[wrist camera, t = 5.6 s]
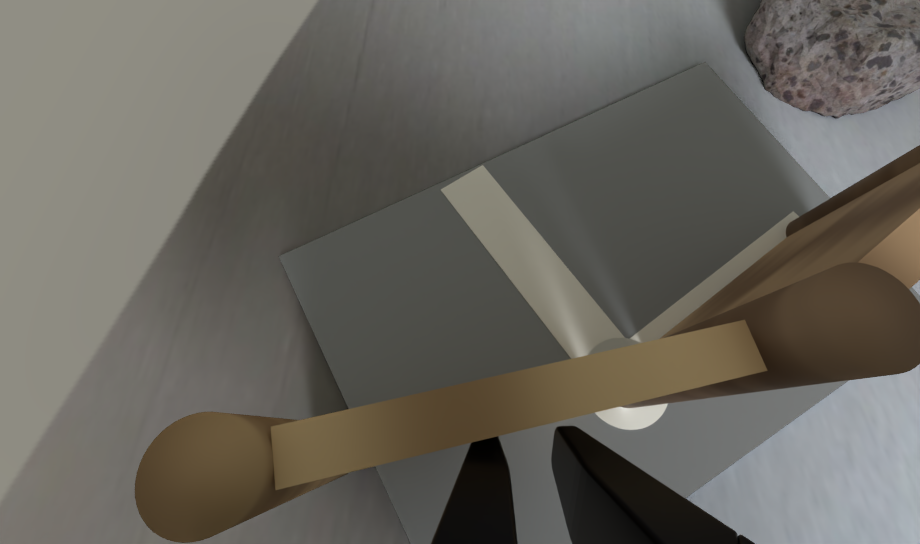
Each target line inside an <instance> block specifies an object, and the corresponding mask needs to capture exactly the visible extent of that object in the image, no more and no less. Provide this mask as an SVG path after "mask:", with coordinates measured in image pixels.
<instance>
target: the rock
mask: <svg viewBox="0 0 920 544" xmlns="http://www.w3.org/2000/svg"><path fill="white" fill-rule="evenodd" d="M744 40H745V43H746V50H747V53H748V55H749V57H750V58H751V60H752V62H753V63H754V65H755V67H756V68H757V70H758V72H759V74H760V76H761V77H762V79H763V81H764V87H765V90H767V91H768V92H770V93H772V95H773V96H774V97H776V98H778V99H779V100H781V101H783V102H785V103H787V104H790V105H792V106H793V107H796V108H800V109H801V110H802V111H813V112H817V113H820V114H821V115H823V116H834V117H835V118H839V117H841V116H843V115H847V114H851V115H853V114H856V113H864V112H867V111H869V110H874V109H877V108H879V107H881V106H883V105H885V104H888V103H889V102H890V101H893V100H897V99H900V98H902V97H903V96H905V95H907V94H909V93H912V92H914V91H915V90H917V89H919V88H920V0H761V4H760V7H759V9H758V10H757V11H756V13H755V14H754V16H753V18H752V20H751V22H750V23H749V25H748V26H747V28H746V32H745V36H744Z"/></svg>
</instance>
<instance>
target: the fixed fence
mask: <svg viewBox="0 0 920 544" xmlns="http://www.w3.org/2000/svg"><path fill="white" fill-rule="evenodd" d="M786 237H787V238H785V239H784V240H783V241H782V242H780V243H779V244H778V245H777V246H775V247H774V248H773V249H772V250H770V251H769V252H768V253H766V254H765V255H764V256H763V257H761V258H760V259H759V260H758V261H756V262H755V263H754V264H753V265H751V266H750V267H749V268H748V269H746V270H745V271H744V272H743V273H741V274H740V275H739V276H738V277H736V278H735V279H734V280H733V281H731V282H730V283H729V284H728V285H726V286H725V287H724V288H723V289H721V290H720V291H719V292H718V293H716V294H715V295H714V296H712V297H711V298H710V299H709V300H707V301H706V302H705V303H704V304H702V305H701V306H700V307H699V308H697V309H696V310H695V311H694V312H692V313H691V314H690V315H689V316H687V317H686V318H685V319H684V320H682V321H681V322H680V323H679V324H677V325H676V326H675V327H674V328H672V329H671V330H670V331H669V332H667V333H666V334H665V335H664V336H662V337H661V338H666V337H670V336H675V335H679V334H684V333H688V332H692V331H697V330H701V329H706V328H710V327H715V326H719V325H723V324H728V323H732V322H737V321H741V320H745V321H746V324H747V326H748V328H749V330H750V332H751V335H752V337H753V339H754V341H755V344H756V346H757V348H758V350H759V353H760V355H761V357H762V359H763V362H764V364H765V366H766V368H767V370H768V371H764V372H760V373H756V374H752V375H747V376H743V377H739V378H735V379H731V380H727V381H723V382H719V383H715V384H710V385H706V386H702V387H698V388H694V389H690V390H686V391H682V392H678V393H673V394H669V395H665V396H661V397H657V398H653V399H649V400H645V401H641V402H636V403H632V404H628V405H624V406H620V407H623V408H636V407H644V406H652V405H660V404H667V403H675V402H683V401H691V400H699V399H706V398H714V397H722V396H730V395H737V394H745V393H753V392H761V391H769V390H776V389H784V388H792V387H800V386H808V385H815V384H823V383H831V382H839V381H847V380H854V379H862V378H870V377H878V376H886V375H893V374H900V373H904V372H907V371H910V370H912V369H913V368H915V367H916V366H917V365H919V364H920V303H919V302H918V300H917V299H916V297H915V296H914V295H913V293H912V292H911V291H910V290H909V289H910V288H911V287H912V286H913V285H914V284H915V283H917V282H918V281H919V280H920V145H919V146H917V147H916V148H914V149H912V150H911V151H909V152H907V153H906V154H904V155H902V156H901V157H899V158H897V159H896V160H894V161H892V162H891V163H889V164H887V165H886V166H884V167H882V168H880V169H879V170H877V171H875V172H874V173H872V174H870V175H869V176H867V177H865V178H864V179H862V180H860V181H859V182H857V183H855V184H854V185H852V186H850V187H849V188H847V189H845V190H844V191H842V192H840V193H838V194H837V195H835V196H833V197H832V198H830V199H828V200H827V201H825V202H823V203H822V204H820V205H818V206H817V207H815V208H813V209H812V210H810V211H808V212H807V213H805V214H803V215H801V216H800V217H798V218H796V219H795V220H793V221H791V222H790V223H789V224H788V225H787V228H786ZM661 338H660V339H661Z"/></svg>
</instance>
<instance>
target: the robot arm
mask: <svg viewBox="0 0 920 544" xmlns="http://www.w3.org/2000/svg"><path fill="white" fill-rule="evenodd" d="M551 464H552V470H553V475H554V478H555V482H556V486H557V490H558V494H559V498H560V502H561V506H562V509H563V513H564V517H565V521H566V525H567V529H568V532H569V536H570V539H571V542H572V544H755V543H753V542H752V541H750V540H749V539H747V538H746V537H744V536H743V535H739V536H737V533H736V532H735V531H734V530H732V529H731V528H729V527H728V526H726V525H725V524H723V523H722V522H720V521H719V520H717V519H716V518H714V517H713V516H711V515H710V514H708V513H707V512H705V511H704V510H702V509H701V508H699V507H698V506H696V505H695V504H693V503H691V502H690V501H688V500H687V499H685V498H684V497H682V496H681V495H679V494H678V493H676V492H675V491H673V490H672V489H670V488H669V487H667V486H666V485H664V484H663V483H661V482H660V481H658V480H657V479H655V478H654V477H652V476H651V475H649V474H648V473H646V472H645V471H643V470H642V469H640V468H639V467H637V466H636V465H634V464H633V463H631V462H630V461H628V460H626V459H625V458H623V457H622V456H620V455H619V454H617V453H616V452H614V451H613V450H611V449H610V448H608V447H607V446H605V445H604V444H602V443H601V442H599V441H598V440H596V439H595V438H593V437H592V436H590V435H589V434H587V433H586V432H584V431H583V430H581V429H580V428H578V427H576V426H558V427H556V429H555V431H554V438H553V447H552V455H551ZM431 544H518V541H517V532H516V522H515V513H514V503H513V493H512V484H511V475H510V469H509V465H508V462H507V459H506V456H505V454H504V451H503V448H502V445H501V442H500V440H499V437H498V436H497V437H493V438H488V439H484V440H480V441H476V442H472V443H471V444H470V447H469V449H468V452H467V454H466V457H465V459H464V462H463V464H462V467H461V469H460V472H459V474H458V477H457V479H456V482H455V484H454V487H453V489H452V492H451V494H450V497H449V499H448V502H447V504H446V507H445V509H444V512H443V514H442V517H441V519H440V522H439V524H438V527H437V529H436V532H435V534H434V537H433V539H432V542H431Z"/></svg>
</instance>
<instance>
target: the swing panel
mask: <svg viewBox="0 0 920 544" xmlns="http://www.w3.org/2000/svg"><path fill="white" fill-rule="evenodd" d="M764 371H768V370H767V368H766V366H765V364H764V362H763V359H762V357H761V355H760V353H759V350H758V348H757V346H756V344H755V341H754V339H753V337H752V335H751V332H750V330H749V328H748V326H747V324H746V321H745V320H741V321H737V322H732V323H728V324H723V325H719V326H715V327H710V328H706V329H701V330H697V331H692V332H688V333H684V334H679V335H675V336H670V337H666V338H661V339H657V340H653V341H648V342H644V343H639V344H635V345H630V346H626V347H622V348H617V349H613V350H608V351H604V352H599V353H595V354H591V355H586V356H582V357H577V358H573V359H568V360H564V361H560V362H555V363H551V364H546V365H542V366H537V367H533V368H529V369H524V370H520V371H515V372H511V373H506V374H502V375H498V376H493V377H489V378H484V379H480V380H475V381H471V382H467V383H462V384H458V385H453V386H449V387H444V388H440V389H436V390H431V391H427V392H422V393H418V394H413V395H409V396H405V397H400V398H396V399H391V400H387V401H382V402H378V403H374V404H369V405H365V406H360V407H356V408H351V409H347V410H342V411H338V412H334V413H329V414H325V415H320V416H316V417H311V418H307V419H303V420H292V419H282V418H271V417H261V416H250V415H240V414H229V413H219V412H201V413H196V414H192V415H189V416H186V417H184V418H181V419H180V420H178V421H176V422H174V423H173V424H171V425H170V426H168V427H167V428H166V429H165V430H163V431H162V432H161V433H160V434H159V435H158V436H157V437H156V438H155V439H154V441H153V442H152V443H151V445H150V446H149V447H148V449H147V451H146V452H145V454H144V456H143V458H142V460H141V462H140V465H139V468H138V471H137V476H136V481H135V499H136V504H137V508H138V511H139V513H140V515H141V517H142V519H143V521H144V522H145V524H146V525H147V526H148V527H149V528H150V529H151V530H152V531H153V532H154V533H156V534H157V535H159V536H160V537H162V538H165V539H167V540H170V541H174V542H182V543H186V542H196V541H201V540H204V539H207V538H210V537H212V536H214V535H216V534H218V533H220V532H223V531H225V530H227V529H229V528H231V527H233V526H236V525H238V524H240V523H242V522H244V521H246V520H249V519H251V518H253V517H255V516H257V515H259V514H262V513H264V512H266V511H268V510H270V509H272V508H275V507H277V506H279V505H281V504H283V503H285V502H288V501H290V500H292V499H294V498H296V497H298V496H301V495H303V494H305V493H307V492H309V491H311V490H314V489H316V488H318V487H320V486H322V485H324V484H327V483H329V482H331V481H333V480H335V479H337V478H340V477H342V476H344V475H346V474H348V473H349V472H353V471H357V470H361V469H365V468H369V467H373V466H377V465H382V464H386V463H390V462H394V461H398V460H402V459H406V458H410V457H414V456H419V455H423V454H427V453H431V452H435V451H439V450H443V449H447V448H451V447H456V446H460V445H464V444H468V443H472V442H476V441H480V440H484V439H488V438H493V437H497V436H501V435H505V434H509V433H513V432H517V431H521V430H525V429H530V428H534V427H538V426H542V425H546V424H550V423H554V422H558V421H562V420H567V419H571V418H575V417H579V416H583V415H587V414H591V413H595V412H599V411H604V410H608V409H612V408H616V407H620V406H624V405H628V404H632V403H636V402H641V401H645V400H649V399H653V398H657V397H661V396H665V395H669V394H673V393H678V392H682V391H686V390H690V389H694V388H698V387H702V386H706V385H710V384H715V383H719V382H723V381H727V380H731V379H735V378H739V377H743V376H747V375H752V374H756V373H760V372H764Z"/></svg>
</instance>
